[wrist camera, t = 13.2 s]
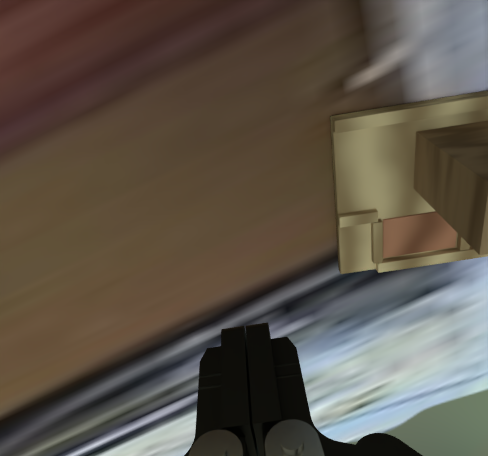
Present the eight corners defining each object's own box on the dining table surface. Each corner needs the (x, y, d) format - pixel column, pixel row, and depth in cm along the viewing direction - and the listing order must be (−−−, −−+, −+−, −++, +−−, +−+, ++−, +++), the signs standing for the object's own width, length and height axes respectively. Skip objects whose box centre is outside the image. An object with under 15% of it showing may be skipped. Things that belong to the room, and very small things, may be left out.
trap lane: (338, 269, 50) (350, 295, 46) (330, 116, 42) (342, 130, 37) (576, 233, 49) (611, 256, 45) (617, 69, 41) (665, 78, 36)
